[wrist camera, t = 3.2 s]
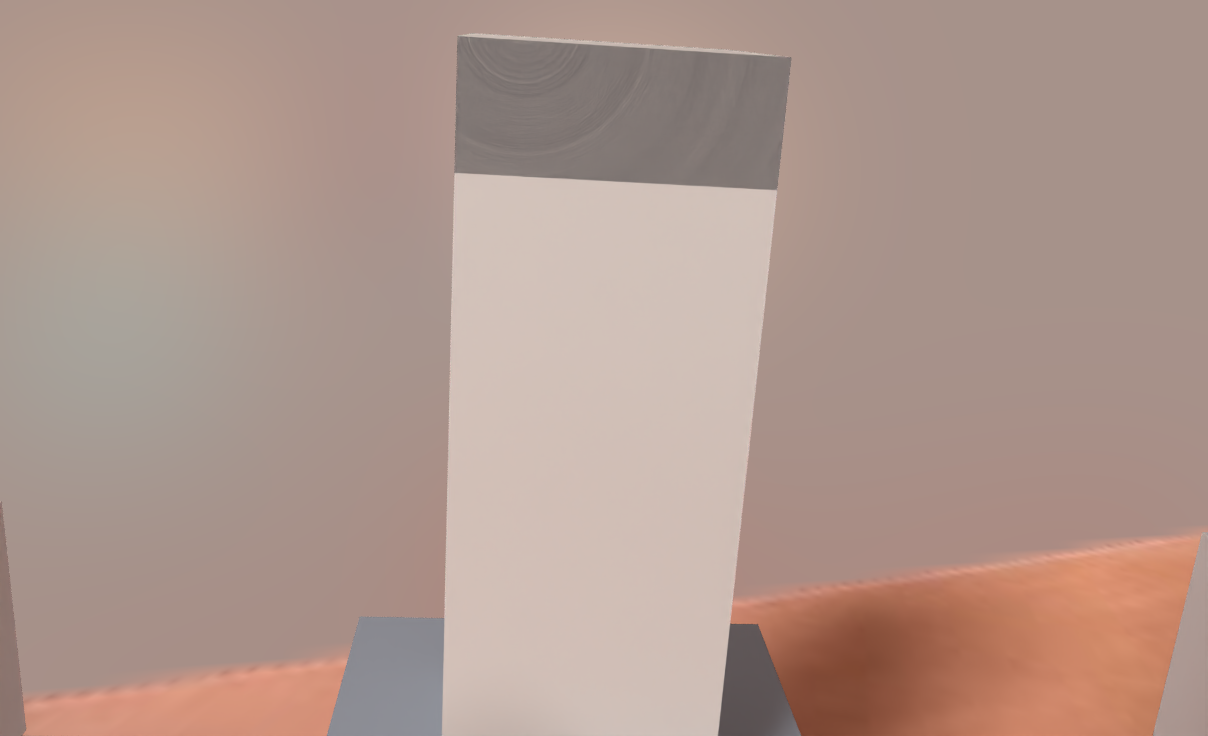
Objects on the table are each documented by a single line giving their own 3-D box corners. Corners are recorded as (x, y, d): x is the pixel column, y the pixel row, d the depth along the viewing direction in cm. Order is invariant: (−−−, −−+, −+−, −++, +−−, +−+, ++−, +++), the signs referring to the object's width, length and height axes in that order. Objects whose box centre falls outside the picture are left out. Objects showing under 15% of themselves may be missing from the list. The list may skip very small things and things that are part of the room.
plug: (673, 678, 25) (731, 49, 21) (707, 829, 21) (790, 57, 17) (455, 675, 25) (472, 33, 21) (440, 828, 20) (457, 35, 16)
